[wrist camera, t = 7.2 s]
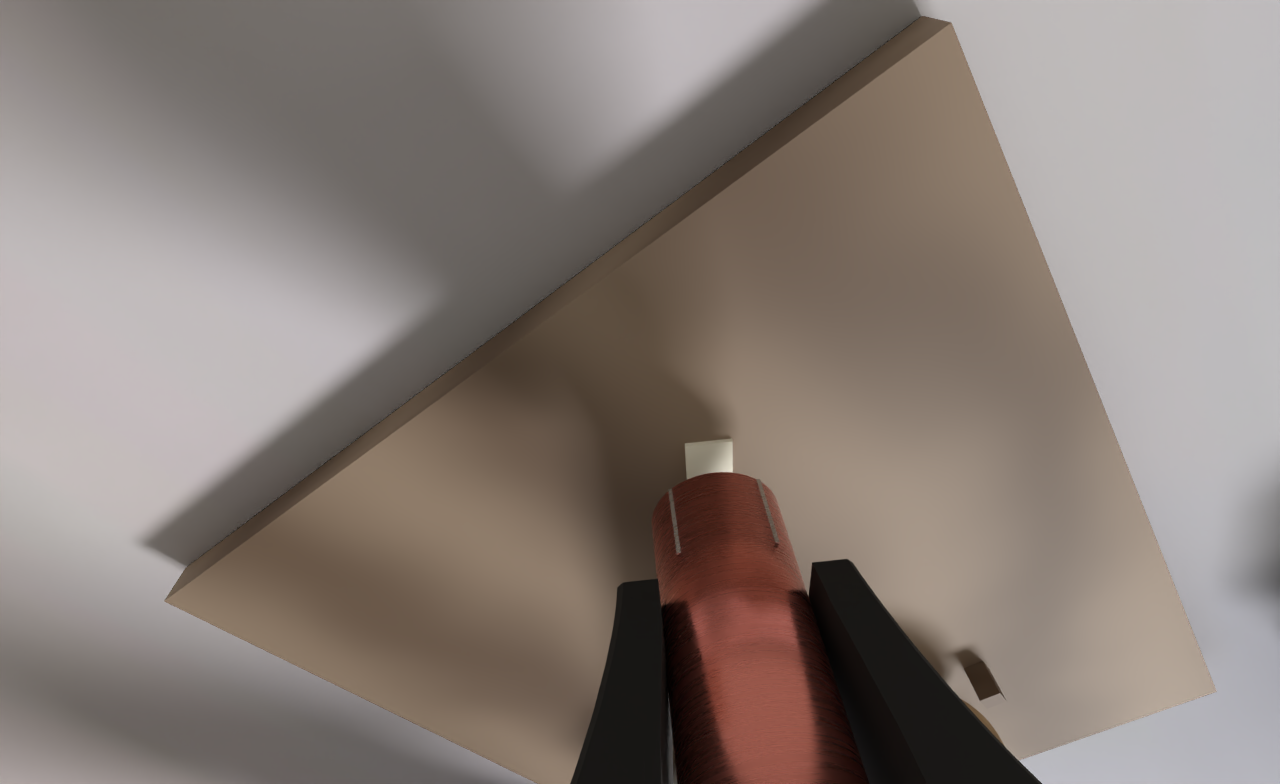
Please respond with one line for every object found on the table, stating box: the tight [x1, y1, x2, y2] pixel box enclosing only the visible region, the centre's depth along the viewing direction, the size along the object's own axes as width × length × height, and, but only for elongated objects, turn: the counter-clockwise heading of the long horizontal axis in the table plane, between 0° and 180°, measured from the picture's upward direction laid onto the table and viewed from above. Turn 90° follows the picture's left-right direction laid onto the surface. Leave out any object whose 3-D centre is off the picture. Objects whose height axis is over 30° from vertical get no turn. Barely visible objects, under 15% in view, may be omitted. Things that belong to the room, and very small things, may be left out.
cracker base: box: [165, 16, 1217, 784], centre depth 17 cm, size 20×24×4 cm
